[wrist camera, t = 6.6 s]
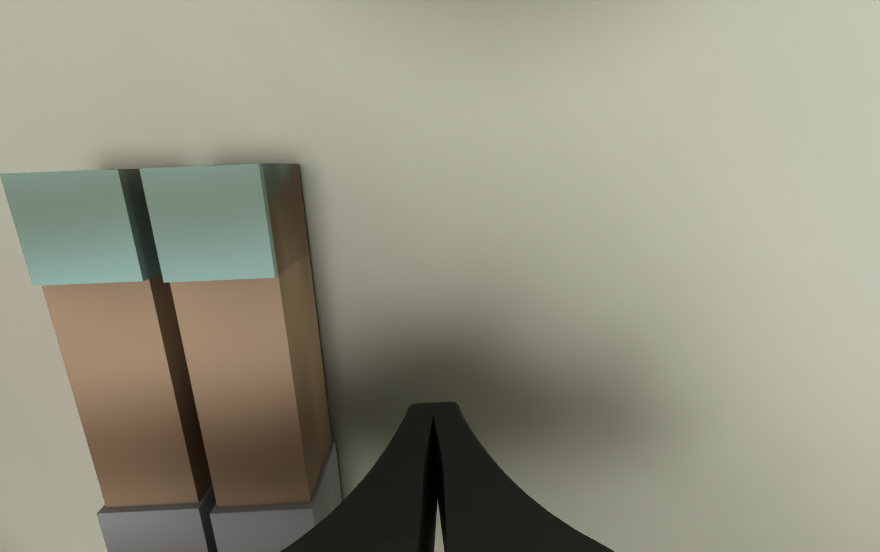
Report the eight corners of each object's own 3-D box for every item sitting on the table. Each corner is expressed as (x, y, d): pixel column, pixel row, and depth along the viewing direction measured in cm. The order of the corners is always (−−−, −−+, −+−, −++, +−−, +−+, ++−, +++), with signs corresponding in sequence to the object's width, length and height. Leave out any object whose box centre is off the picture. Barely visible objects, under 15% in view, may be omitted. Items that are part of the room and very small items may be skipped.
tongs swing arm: (353, 598, 15) (338, 690, 12) (280, 602, 15) (249, 695, 12) (302, 163, 11) (263, 163, 9) (203, 167, 11) (134, 168, 9)
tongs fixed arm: (324, 671, 16) (291, 832, 12) (216, 678, 16) (149, 841, 12) (249, 166, 11) (156, 166, 7) (95, 171, 11) (-79, 175, 7)
